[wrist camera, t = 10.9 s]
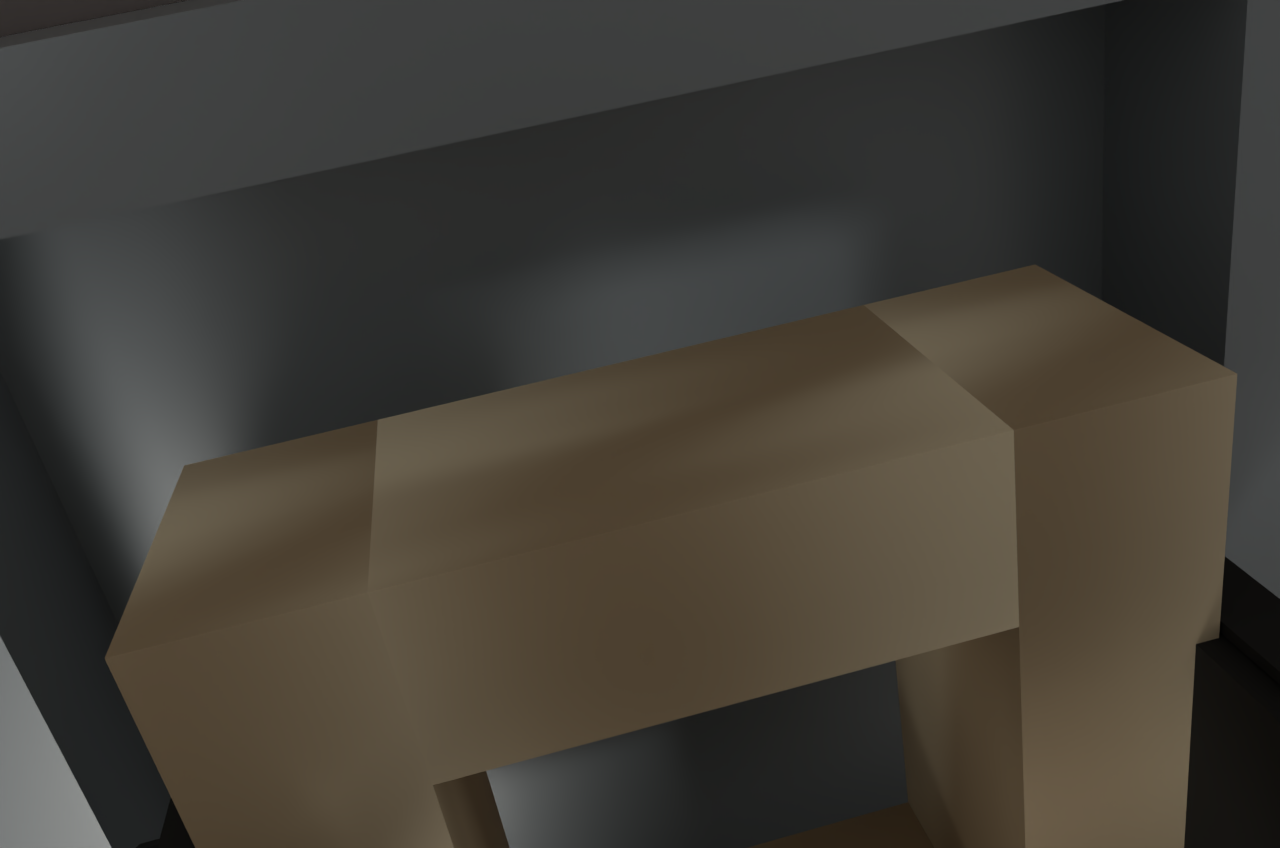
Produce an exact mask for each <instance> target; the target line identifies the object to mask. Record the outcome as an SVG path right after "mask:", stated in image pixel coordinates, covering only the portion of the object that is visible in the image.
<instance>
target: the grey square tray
mask: <svg viewBox="0 0 1280 848" xmlns="http://www.w3.org/2000/svg"><path fill="white" fill-rule="evenodd" d="M1031 265H1037V266H1039V267H1041V268H1043V269H1045V270H1047V271H1048V272H1050V273H1052V274H1054V275H1056V276H1058V277H1059V278H1061V279H1063V280H1065V281H1067V282H1069V283H1071V284H1072V285H1074V286H1076V287H1078V288H1080V289H1082V290H1083V291H1085V292H1087V293H1089V294H1091V295H1093V296H1095V297H1096V298H1098V299H1100V300H1102V301H1104V302H1106V303H1107V304H1109V305H1111V306H1113V307H1115V308H1117V309H1119V310H1120V311H1122V312H1124V313H1126V314H1128V315H1130V316H1131V317H1133V318H1135V319H1137V320H1139V321H1141V322H1143V323H1144V324H1146V325H1148V326H1150V327H1152V328H1154V329H1156V330H1157V331H1159V332H1161V333H1163V334H1165V335H1167V336H1168V337H1170V338H1172V339H1174V340H1176V341H1178V342H1180V343H1181V344H1183V345H1185V346H1187V347H1189V348H1191V349H1192V350H1194V351H1196V352H1198V353H1200V354H1202V355H1204V356H1205V357H1207V358H1209V359H1211V360H1213V361H1215V362H1216V363H1218V364H1220V365H1222V366H1224V367H1226V368H1228V369H1229V370H1231V371H1233V372H1235V373H1237V386H1236V401H1235V415H1234V430H1233V444H1232V459H1231V473H1230V487H1229V502H1228V516H1227V531H1226V545H1225V557H1227V558H1228V559H1229V560H1231V561H1232V562H1233V563H1234V564H1236V565H1237V566H1238V567H1240V568H1241V569H1242V570H1243V571H1245V572H1246V573H1247V574H1249V575H1250V576H1251V577H1252V578H1254V579H1255V580H1256V581H1258V582H1259V583H1260V584H1261V585H1263V586H1264V587H1265V588H1267V589H1268V590H1269V591H1270V592H1272V593H1273V594H1274V595H1276V596H1277V597H1278V598H1279V599H1280V0H187V1H182V2H177V3H172V4H167V5H162V6H157V7H152V8H146V9H141V10H136V11H131V12H126V13H121V14H116V15H111V16H106V17H100V18H95V19H90V20H85V21H80V22H75V23H70V24H65V25H60V26H55V27H49V28H44V29H39V30H34V31H29V32H24V33H19V34H14V35H9V36H3V37H0V848H136V847H137V846H138V845H139V844H141V843H145V842H148V841H152V840H156V839H160V835H161V832H162V828H163V824H164V821H165V817H166V813H167V810H168V806H169V802H170V799H171V796H170V794H169V792H168V790H167V788H166V786H165V784H164V782H163V780H162V777H161V775H160V773H159V771H158V769H157V767H156V765H155V763H154V761H153V759H152V757H151V754H150V752H149V750H148V748H147V746H146V744H145V742H144V740H143V738H142V736H141V734H140V731H139V729H138V727H137V725H136V723H135V721H134V719H133V717H132V715H131V713H130V711H129V709H128V706H127V704H126V702H125V700H124V698H123V696H122V694H121V692H120V690H119V688H118V686H117V683H116V681H115V679H114V677H113V675H112V673H111V671H110V669H109V667H108V665H107V663H106V661H105V656H106V654H107V651H108V649H109V646H110V644H111V642H112V639H113V637H114V634H115V632H116V630H117V627H118V625H119V622H120V620H121V617H122V615H123V613H124V610H125V608H126V605H127V603H128V600H129V598H130V596H131V593H132V591H133V588H134V586H135V583H136V581H137V579H138V576H139V574H140V571H141V569H142V567H143V564H144V562H145V559H146V557H147V554H148V552H149V550H150V547H151V545H152V542H153V540H154V537H155V535H156V533H157V530H158V528H159V525H160V523H161V520H162V518H163V516H164V513H165V511H166V508H167V506H168V504H169V501H170V499H171V496H172V494H173V491H174V489H175V487H176V484H177V482H178V479H179V477H180V474H181V472H182V470H183V467H184V465H188V464H193V463H197V462H201V461H205V460H210V459H214V458H218V457H222V456H227V455H231V454H235V453H239V452H243V451H248V450H252V449H256V448H260V447H265V446H269V445H273V444H277V443H282V442H286V441H290V440H294V439H299V438H303V437H307V436H311V435H315V434H320V433H324V432H328V431H332V430H337V429H341V428H345V427H349V426H354V425H358V424H362V423H366V422H370V421H375V420H379V419H383V418H387V417H392V416H396V415H400V414H404V413H409V412H413V411H417V410H421V409H425V408H430V407H434V406H438V405H442V404H447V403H451V402H455V401H459V400H464V399H468V398H472V397H476V396H481V395H485V394H489V393H493V392H497V391H502V390H506V389H510V388H514V387H519V386H523V385H527V384H531V383H536V382H540V381H544V380H548V379H552V378H557V377H561V376H565V375H569V374H574V373H578V372H582V371H586V370H591V369H595V368H599V367H603V366H607V365H612V364H616V363H620V362H624V361H629V360H633V359H637V358H641V357H646V356H650V355H654V354H658V353H662V352H667V351H671V350H675V349H679V348H684V347H688V346H692V345H696V344H701V343H705V342H709V341H713V340H718V339H722V338H726V337H730V336H734V335H739V334H743V333H747V332H751V331H756V330H760V329H764V328H768V327H773V326H777V325H781V324H785V323H789V322H794V321H798V320H802V319H806V318H811V317H815V316H819V315H823V314H828V313H832V312H836V311H840V310H844V309H849V308H853V307H857V306H861V305H866V304H870V303H874V302H878V301H883V300H887V299H891V298H895V297H900V296H904V295H908V294H912V293H916V292H921V291H925V290H929V289H933V288H938V287H942V286H946V285H950V284H955V283H959V282H963V281H967V280H971V279H976V278H980V277H984V276H988V275H993V274H997V273H1001V272H1005V271H1010V270H1014V269H1018V268H1022V267H1026V266H1031ZM486 772H487V776H488V779H489V782H490V785H491V789H492V792H493V795H494V798H495V802H496V805H497V808H498V811H499V815H500V818H501V821H502V824H503V828H504V831H505V834H506V837H507V840H508V844H509V847H510V848H748V847H752V846H755V845H759V844H762V843H766V842H769V841H773V840H776V839H780V838H783V837H787V836H790V835H794V834H797V833H801V832H805V831H808V830H812V829H815V828H819V827H822V826H826V825H829V824H833V823H836V822H840V821H843V820H847V819H850V818H854V817H857V816H861V815H864V814H868V813H872V812H875V811H879V810H882V809H886V808H889V807H893V806H896V805H900V804H903V803H907V802H908V795H907V784H906V772H905V761H904V750H903V739H902V728H901V716H900V705H899V694H898V683H897V672H896V661H891V662H887V663H884V664H880V665H876V666H873V667H869V668H865V669H862V670H858V671H854V672H850V673H847V674H843V675H839V676H836V677H832V678H828V679H824V680H821V681H817V682H813V683H810V684H806V685H802V686H799V687H795V688H791V689H787V690H784V691H780V692H776V693H773V694H769V695H765V696H761V697H758V698H754V699H750V700H747V701H743V702H739V703H736V704H732V705H728V706H724V707H721V708H717V709H713V710H710V711H706V712H702V713H698V714H695V715H691V716H687V717H684V718H680V719H676V720H673V721H669V722H665V723H661V724H658V725H654V726H650V727H647V728H643V729H639V730H636V731H632V732H628V733H624V734H621V735H617V736H613V737H610V738H606V739H602V740H598V741H595V742H591V743H587V744H584V745H580V746H576V747H573V748H569V749H565V750H561V751H558V752H554V753H550V754H547V755H543V756H539V757H535V758H532V759H528V760H524V761H521V762H517V763H513V764H510V765H506V766H502V767H498V768H495V769H491V770H487V771H486Z"/></svg>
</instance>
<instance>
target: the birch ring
mask: <svg viewBox="0 0 1280 848" xmlns="http://www.w3.org/2000/svg"><path fill="white" fill-rule="evenodd" d="M1236 386H1237V373H1235V372H1233V371H1231V370H1229V369H1228V368H1226V367H1224V366H1222V365H1220V364H1218V363H1216V362H1215V361H1213V360H1211V359H1209V358H1207V357H1205V356H1204V355H1202V354H1200V353H1198V352H1196V351H1194V350H1192V349H1191V348H1189V347H1187V346H1185V345H1183V344H1181V343H1180V342H1178V341H1176V340H1174V339H1172V338H1170V337H1168V336H1167V335H1165V334H1163V333H1161V332H1159V331H1157V330H1156V329H1154V328H1152V327H1150V326H1148V325H1146V324H1144V323H1143V322H1141V321H1139V320H1137V319H1135V318H1133V317H1131V316H1130V315H1128V314H1126V313H1124V312H1122V311H1120V310H1119V309H1117V308H1115V307H1113V306H1111V305H1109V304H1107V303H1106V302H1104V301H1102V300H1100V299H1098V298H1096V297H1095V296H1093V295H1091V294H1089V293H1087V292H1085V291H1083V290H1082V289H1080V288H1078V287H1076V286H1074V285H1072V284H1071V283H1069V282H1067V281H1065V280H1063V279H1061V278H1059V277H1058V276H1056V275H1054V274H1052V273H1050V272H1048V271H1047V270H1045V269H1043V268H1041V267H1039V266H1037V265H1031V266H1026V267H1022V268H1018V269H1014V270H1010V271H1005V272H1001V273H997V274H993V275H988V276H984V277H980V278H976V279H971V280H967V281H963V282H959V283H955V284H950V285H946V286H942V287H938V288H933V289H929V290H925V291H921V292H916V293H912V294H908V295H904V296H900V297H895V298H891V299H887V300H883V301H878V302H874V303H870V304H866V305H861V306H857V307H853V308H849V309H844V310H840V311H836V312H832V313H828V314H823V315H819V316H815V317H811V318H806V319H802V320H798V321H794V322H789V323H785V324H781V325H777V326H773V327H768V328H764V329H760V330H756V331H751V332H747V333H743V334H739V335H734V336H730V337H726V338H722V339H718V340H713V341H709V342H705V343H701V344H696V345H692V346H688V347H684V348H679V349H675V350H671V351H667V352H662V353H658V354H654V355H650V356H646V357H641V358H637V359H633V360H629V361H624V362H620V363H616V364H612V365H607V366H603V367H599V368H595V369H591V370H586V371H582V372H578V373H574V374H569V375H565V376H561V377H557V378H552V379H548V380H544V381H540V382H536V383H531V384H527V385H523V386H519V387H514V388H510V389H506V390H502V391H497V392H493V393H489V394H485V395H481V396H476V397H472V398H468V399H464V400H459V401H455V402H451V403H447V404H442V405H438V406H434V407H430V408H425V409H421V410H417V411H413V412H409V413H404V414H400V415H396V416H392V417H387V418H383V419H379V420H375V421H370V422H366V423H362V424H358V425H354V426H349V427H345V428H341V429H337V430H332V431H328V432H324V433H320V434H315V435H311V436H307V437H303V438H299V439H294V440H290V441H286V442H282V443H277V444H273V445H269V446H265V447H260V448H256V449H252V450H248V451H243V452H239V453H235V454H231V455H227V456H222V457H218V458H214V459H210V460H205V461H201V462H197V463H193V464H188V465H184V467H183V470H182V472H181V474H180V477H179V479H178V482H177V484H176V487H175V489H174V491H173V494H172V496H171V499H170V501H169V504H168V506H167V508H166V511H165V513H164V516H163V518H162V520H161V523H160V525H159V528H158V530H157V533H156V535H155V537H154V540H153V542H152V545H151V547H150V550H149V552H148V554H147V557H146V559H145V562H144V564H143V567H142V569H141V571H140V574H139V576H138V579H137V581H136V583H135V586H134V588H133V591H132V593H131V596H130V598H129V600H128V603H127V605H126V608H125V610H124V613H123V615H122V617H121V620H120V622H119V625H118V627H117V630H116V632H115V634H114V637H113V639H112V642H111V644H110V646H109V649H108V651H107V654H106V656H105V661H106V663H107V665H108V667H109V669H110V671H111V673H112V675H113V677H114V679H115V681H116V683H117V686H118V688H119V690H120V692H121V694H122V696H123V698H124V700H125V702H126V704H127V706H128V709H129V711H130V713H131V715H132V717H133V719H134V721H135V723H136V725H137V727H138V729H139V731H140V734H141V736H142V738H143V740H144V742H145V744H146V746H147V748H148V750H149V752H150V754H151V757H152V759H153V761H154V763H155V765H156V767H157V769H158V771H159V773H160V775H161V777H162V780H163V782H164V784H165V786H166V788H167V790H168V792H169V794H170V796H171V798H172V800H173V802H174V805H175V807H176V809H177V811H178V813H179V815H180V817H181V819H182V821H183V823H184V825H185V828H186V830H187V832H188V834H189V836H190V838H191V840H192V842H193V844H194V846H195V848H510V847H509V844H508V840H507V837H506V834H505V831H504V828H503V824H502V821H501V818H500V815H499V811H498V808H497V805H496V802H495V798H494V795H493V792H492V789H491V785H490V782H489V779H488V776H487V772H486V771H487V770H491V769H495V768H498V767H502V766H506V765H510V764H513V763H517V762H521V761H524V760H528V759H532V758H535V757H539V756H543V755H547V754H550V753H554V752H558V751H561V750H565V749H569V748H573V747H576V746H580V745H584V744H587V743H591V742H595V741H598V740H602V739H606V738H610V737H613V736H617V735H621V734H624V733H628V732H632V731H636V730H639V729H643V728H647V727H650V726H654V725H658V724H661V723H665V722H669V721H673V720H676V719H680V718H684V717H687V716H691V715H695V714H698V713H702V712H706V711H710V710H713V709H717V708H721V707H724V706H728V705H732V704H736V703H739V702H743V701H747V700H750V699H754V698H758V697H761V696H765V695H769V694H773V693H776V692H780V691H784V690H787V689H791V688H795V687H799V686H802V685H806V684H810V683H813V682H817V681H821V680H824V679H828V678H832V677H836V676H839V675H843V674H847V673H850V672H854V671H858V670H862V669H865V668H869V667H873V666H876V665H880V664H884V663H887V662H891V661H896V672H897V683H898V694H899V705H900V716H901V728H902V739H903V750H904V761H905V772H906V784H907V795H908V802H907V803H903V804H900V805H896V806H893V807H889V808H886V809H882V810H879V811H875V812H872V813H868V814H864V815H861V816H857V817H854V818H850V819H847V820H843V821H840V822H836V823H833V824H829V825H826V826H822V827H819V828H815V829H812V830H808V831H805V832H801V833H797V834H794V835H790V836H787V837H783V838H780V839H776V840H773V841H769V842H766V843H762V844H759V845H755V846H752V847H748V848H1184V840H1185V823H1186V806H1187V789H1188V772H1189V754H1190V737H1191V720H1192V703H1193V686H1194V669H1195V651H1196V644H1198V643H1202V642H1206V641H1209V640H1213V639H1216V638H1219V632H1220V617H1221V603H1222V588H1223V574H1224V560H1225V545H1226V531H1227V516H1228V502H1229V487H1230V473H1231V459H1232V444H1233V430H1234V415H1235V401H1236Z"/></svg>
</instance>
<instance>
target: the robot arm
mask: <svg viewBox="0 0 1280 848" xmlns="http://www.w3.org/2000/svg"><path fill="white" fill-rule="evenodd" d="M136 848H195V846H194V844H193V842H192V840H191V838H190V836H189V834H188V832H187V830H186V828H185V825H184V823H183V821H182V819H181V817H180V815H179V813H178V811H177V809H176V807H175V805H174V802H173V800H172V798H171V799H170V802H169V806H168V810H167V813H166V817H165V821H164V824H163V828H162V832H161V835H160V839H156V840H152V841H148V842H145V843H141V844H139V845H138V846H137V847H136ZM1184 848H1280V599H1279V598H1278V597H1277V596H1276V595H1274V594H1273V593H1272V592H1270V591H1269V590H1268V589H1267V588H1265V587H1264V586H1263V585H1261V584H1260V583H1259V582H1258V581H1256V580H1255V579H1254V578H1252V577H1251V576H1250V575H1249V574H1247V573H1246V572H1245V571H1243V570H1242V569H1241V568H1240V567H1238V566H1237V565H1236V564H1234V563H1233V562H1232V561H1231V560H1229V559H1228V558H1227V557H1225V560H1224V574H1223V588H1222V603H1221V617H1220V632H1219V638H1216V639H1213V640H1209V641H1206V642H1202V643H1198V644H1196V651H1195V669H1194V686H1193V703H1192V720H1191V737H1190V754H1189V772H1188V789H1187V806H1186V823H1185V840H1184Z"/></svg>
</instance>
